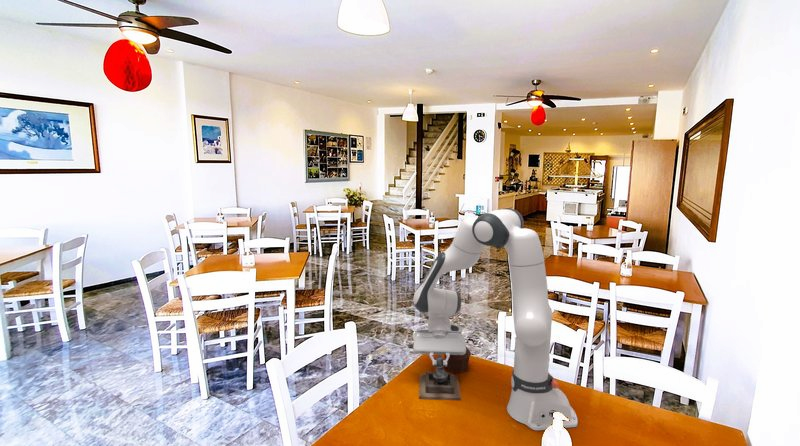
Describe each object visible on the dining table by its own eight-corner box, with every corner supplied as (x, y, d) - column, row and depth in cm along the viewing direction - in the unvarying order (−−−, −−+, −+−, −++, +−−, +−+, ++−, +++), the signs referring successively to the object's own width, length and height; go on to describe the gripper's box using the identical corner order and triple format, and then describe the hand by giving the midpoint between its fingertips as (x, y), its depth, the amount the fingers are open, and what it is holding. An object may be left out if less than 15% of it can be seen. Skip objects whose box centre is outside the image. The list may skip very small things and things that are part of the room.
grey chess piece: (447, 388, 146) (444, 357, 144) (431, 386, 148) (429, 356, 146) (450, 379, 151) (447, 350, 150) (435, 378, 153) (432, 349, 152)
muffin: (442, 359, 170) (443, 338, 169) (468, 360, 170) (468, 338, 168) (444, 374, 158) (445, 351, 157) (472, 375, 158) (472, 351, 156)
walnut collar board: (457, 377, 156) (457, 369, 155) (460, 400, 141) (461, 391, 140) (419, 376, 157) (419, 368, 156) (419, 398, 142) (419, 389, 141)
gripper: (412, 326, 153) (411, 362, 145) (465, 327, 152) (467, 363, 143) (412, 332, 158) (412, 367, 150) (463, 333, 157) (466, 368, 148)
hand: (439, 365), depth 146 cm, fingers open, 2 cm apart
